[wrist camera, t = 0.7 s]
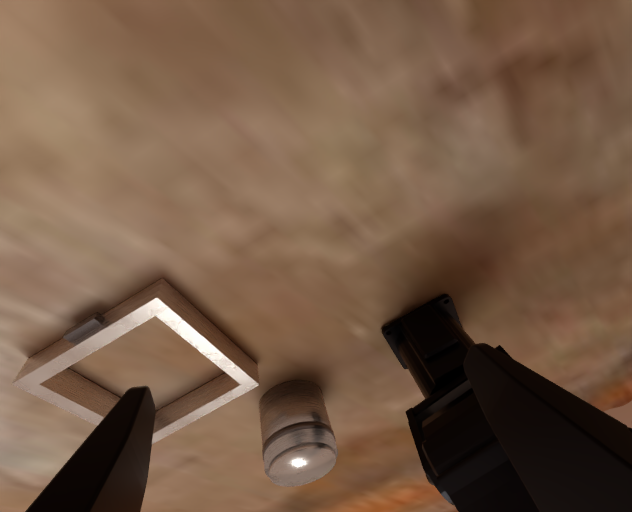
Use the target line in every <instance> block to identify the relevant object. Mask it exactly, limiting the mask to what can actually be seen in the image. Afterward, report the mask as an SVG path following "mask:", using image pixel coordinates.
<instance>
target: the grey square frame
mask: <svg viewBox="0 0 632 512" xmlns="http://www.w3.org/2000/svg"><path fill="white" fill-rule="evenodd" d="M154 316H157V317H158V318H159V319H160V320H162V321H163V322H164V323H165V324H166V325H168V326H169V327H170V328H171V329H173V330H174V331H175V332H176V333H178V334H179V335H180V336H181V337H183V338H184V339H185V340H186V341H187V342H189V343H190V344H191V345H192V346H194V347H195V348H196V349H197V350H199V351H200V352H201V353H202V354H204V355H205V356H206V357H207V358H208V359H210V360H211V361H212V362H213V363H215V364H216V365H217V366H218V367H220V368H221V369H222V370H223V371H225V372H226V373H224V374H222V375H220V376H219V377H217V378H215V379H213V380H211V381H210V382H208V383H206V384H204V385H203V386H201V387H199V388H197V389H195V390H194V391H192V392H190V393H188V394H187V395H185V396H183V397H181V398H179V399H178V400H176V401H174V402H172V403H171V404H169V405H167V406H165V407H163V408H162V409H160V410H158V411H156V412H155V422H154V430H153V438H152V444H153V443H155V442H157V441H159V440H161V439H163V438H164V437H166V436H168V435H170V434H172V433H173V432H175V431H177V430H179V429H181V428H182V427H184V426H186V425H188V424H190V423H192V422H193V421H195V420H197V419H199V418H201V417H202V416H204V415H206V414H208V413H210V412H211V411H213V410H215V409H217V408H219V407H220V406H222V405H224V404H226V403H228V402H230V401H231V400H233V399H235V398H237V397H239V396H240V395H242V394H244V393H246V392H248V391H249V390H251V389H253V388H255V387H257V386H259V375H258V365H257V364H256V363H255V362H254V361H253V360H252V359H251V358H250V357H249V356H247V355H246V354H245V353H244V352H243V351H242V350H241V349H240V348H239V347H238V346H236V345H235V344H234V343H233V342H232V341H231V340H230V339H229V338H228V337H227V336H226V335H224V334H223V333H222V332H221V331H220V330H219V329H218V328H217V327H216V326H215V325H213V324H212V323H211V322H210V321H209V320H208V319H207V318H206V317H205V316H204V315H203V314H201V313H200V312H199V311H198V310H197V309H196V308H195V307H194V306H193V305H192V304H190V303H189V302H188V301H187V300H186V299H185V298H184V297H183V296H182V295H181V294H179V293H178V292H177V291H176V290H175V289H174V288H173V287H172V286H171V285H170V284H169V283H167V282H166V281H165V280H164V279H163V278H162V279H160V280H159V281H157V282H155V283H154V284H152V285H150V286H149V287H147V288H145V289H144V290H142V291H140V292H139V293H137V294H135V295H134V296H132V297H130V298H129V299H127V300H125V301H124V302H122V303H120V304H119V305H117V306H115V307H114V308H112V309H110V310H109V311H107V312H105V313H104V314H102V315H101V314H99V313H98V312H97V313H95V314H94V315H92V316H90V317H89V318H87V319H85V320H84V321H82V322H80V323H79V324H77V325H75V326H74V327H72V328H70V329H69V330H67V331H66V333H65V335H64V336H63V338H62V339H60V340H59V341H57V342H55V343H54V344H52V345H50V346H49V347H47V348H45V349H44V350H42V351H40V352H39V353H37V354H35V355H34V356H32V357H30V358H29V359H28V360H27V361H26V363H25V364H24V366H23V367H22V369H21V370H20V372H19V373H18V375H17V376H16V378H15V379H14V381H13V382H12V385H14V386H16V387H18V388H20V389H22V390H24V391H26V392H28V393H30V394H32V395H35V396H37V397H39V398H41V399H43V400H45V401H47V402H49V403H51V404H53V405H55V406H57V407H59V408H61V409H63V410H66V411H68V412H70V413H72V414H74V415H76V416H78V417H80V418H82V419H84V420H86V421H88V422H90V423H92V424H94V425H97V426H98V425H99V423H100V422H101V421H102V420H103V419H104V417H105V416H106V415H107V414H108V413H109V411H110V410H111V409H112V408H113V407H114V406H115V404H116V403H117V402H118V401H119V400H120V398H119V397H118V396H116V395H114V394H112V393H111V392H109V391H107V390H105V389H104V388H102V387H100V386H98V385H97V384H95V383H93V382H91V381H90V380H88V379H86V378H84V377H83V376H81V375H79V374H77V373H76V372H74V371H72V370H70V369H68V367H69V366H71V365H73V364H74V363H76V362H78V361H79V360H81V359H83V358H85V357H86V356H88V355H90V354H91V353H93V352H95V351H96V350H98V349H100V348H101V347H103V346H105V345H107V344H108V343H110V342H112V341H113V340H115V339H117V338H118V337H120V336H122V335H123V334H125V333H127V332H129V331H130V330H132V329H134V328H135V327H137V326H139V325H140V324H142V323H144V322H145V321H147V320H149V319H151V318H152V317H154Z"/></svg>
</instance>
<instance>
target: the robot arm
mask: <svg viewBox="0 0 632 512" xmlns="http://www.w3.org/2000/svg"><path fill="white" fill-rule="evenodd" d="M382 334H383V335H384V337H385V339H386V340H387V342H388V344H389V345H390V347H391V349H392V350H393V352H394V354H395V355H396V357H397V358H398V360H399V362H400V363H401V365H402V367H403V368H404V369H409V371H410V373H411V375H412V376H413V378H414V380H415V382H416V383H417V385H418V387H419V389H420V390H421V392H422V394H423V396H424V397H425V400H423V401H422V402H421V403H419V404H418V405H416V406H415V407H414V408H410V409H408V410H407V411H406V415H407V418H408V421H409V422H408V423H409V426H410V429H411V432H412V436H413V439H414V442H415V445H416V448H417V451H418V454H419V457H420V460H421V463H422V466H423V469H424V471H425V473H426V477H427V479H428V481H429V483H430V484H432V485H434V486H435V487H436V488H437V489H438V491H439V492H440V493H441V495H442V496H443V497H444V498H445V499H446V500H447V501H448V502H449V503H451V504H452V505H455V507H456V508H457V510H458V511H459V512H632V428H628V427H627V426H626V425H625V424H623V423H621V422H620V421H618V420H616V419H614V418H613V417H611V416H609V415H608V414H606V413H604V412H603V411H601V410H599V409H597V408H596V407H594V406H592V405H591V404H589V403H587V402H585V401H584V400H582V399H580V398H579V397H577V396H575V395H573V394H572V393H570V392H568V391H567V390H565V389H563V388H561V387H560V386H558V385H556V384H555V383H553V382H551V381H549V380H548V379H546V378H544V377H543V376H541V375H539V374H538V373H536V372H534V371H532V370H531V369H529V368H527V367H526V366H524V365H522V364H520V363H519V362H517V361H515V360H514V359H512V358H511V357H510V355H509V354H508V353H507V352H506V351H505V350H504V349H503V348H502V347H501V346H500V345H499V346H498V347H496V348H493V347H491V346H490V345H488V344H485V343H479V344H475V343H474V341H473V340H472V339H471V338H470V337H469V335H468V334H467V333H466V332H465V331H464V330H463V328H462V326H461V323H460V321H459V318H458V315H457V312H456V309H455V307H454V304H453V301H452V298H451V297H450V296H449V295H448V294H444V295H441V296H440V297H438V298H436V299H434V300H432V301H430V302H429V303H427V304H425V305H423V306H421V307H420V308H418V309H416V310H414V311H412V312H410V313H409V314H407V315H405V316H403V317H401V318H400V319H398V320H396V321H394V322H392V323H390V324H389V325H387V326H385V327H384V328H383V329H382ZM154 422H155V404H154V401H153V398H152V395H151V391H150V388H149V387H148V386H139V387H132V388H130V389H128V390H127V391H126V392H125V394H124V395H123V396H122V397H121V398H120V400H119V401H118V402H117V403H116V404H115V406H114V407H113V408H112V409H111V410H110V411H109V413H108V414H107V415H106V416H105V417H104V419H103V420H102V421H101V422H100V423H99V425H98V426H97V427H96V428H95V429H94V430H93V432H92V433H91V434H90V435H89V436H88V438H87V439H86V440H85V441H84V442H83V444H82V445H81V446H80V447H79V448H78V449H77V451H76V452H75V453H74V454H73V455H72V457H71V458H70V459H69V460H68V461H67V463H66V464H65V465H64V466H63V467H62V468H61V470H60V471H59V472H58V473H57V474H56V476H55V477H54V478H53V479H52V480H51V482H50V483H49V484H48V485H47V486H46V487H45V489H44V490H43V491H42V492H41V493H40V495H39V496H38V497H37V498H36V499H35V501H34V502H33V503H32V504H31V505H30V506H29V508H28V509H27V510H26V511H25V512H140V510H141V506H142V502H143V497H144V493H145V488H146V483H147V477H148V470H149V462H150V454H151V446H152V438H153V430H154Z"/></svg>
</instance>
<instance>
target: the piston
mask: <svg viewBox="0 0 632 512" xmlns="http://www.w3.org/2000/svg"><path fill="white" fill-rule="evenodd" d="M259 412H260V423H261V434H262V445H263V449H262V452H263V460H264V467H265V473H266V475H267V476H268V477H269V478H270V480H271V481H272V482H273V483H274V484H276V485H279V486H286V487H291V486H300V485H304V484H308V483H310V482H313V481H315V480H317V479H319V478H321V477H323V476H324V475H326V474H327V473H328V472H329V471H330V470H331V469H332V468H333V467H334V465H335V463H336V458H337V455H338V450H337V446H336V443H335V437H334V433H333V430H332V428H331V425H330V421H329V417H328V414H327V410H326V407H325V403H324V399H323V396H322V392H321V390H320V388H319V387H318V386H317V385H316V384H314V383H312V382H309V381H303V380H295V381H289V382H285V383H282V384H279V385H277V386H275V387H273V388H272V389H270V390H269V391H267V392H266V393H265V394H264V396H263V397H262V398H261V400H260V403H259Z"/></svg>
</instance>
